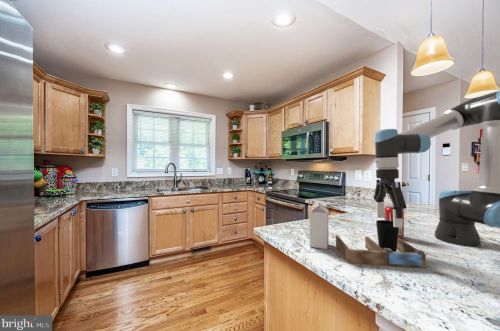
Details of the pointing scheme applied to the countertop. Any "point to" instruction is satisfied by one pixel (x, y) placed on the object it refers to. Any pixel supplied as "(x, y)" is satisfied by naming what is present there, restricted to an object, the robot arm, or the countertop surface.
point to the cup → (387, 234)
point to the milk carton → (319, 227)
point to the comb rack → (383, 254)
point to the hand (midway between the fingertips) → (388, 221)
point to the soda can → (389, 216)
